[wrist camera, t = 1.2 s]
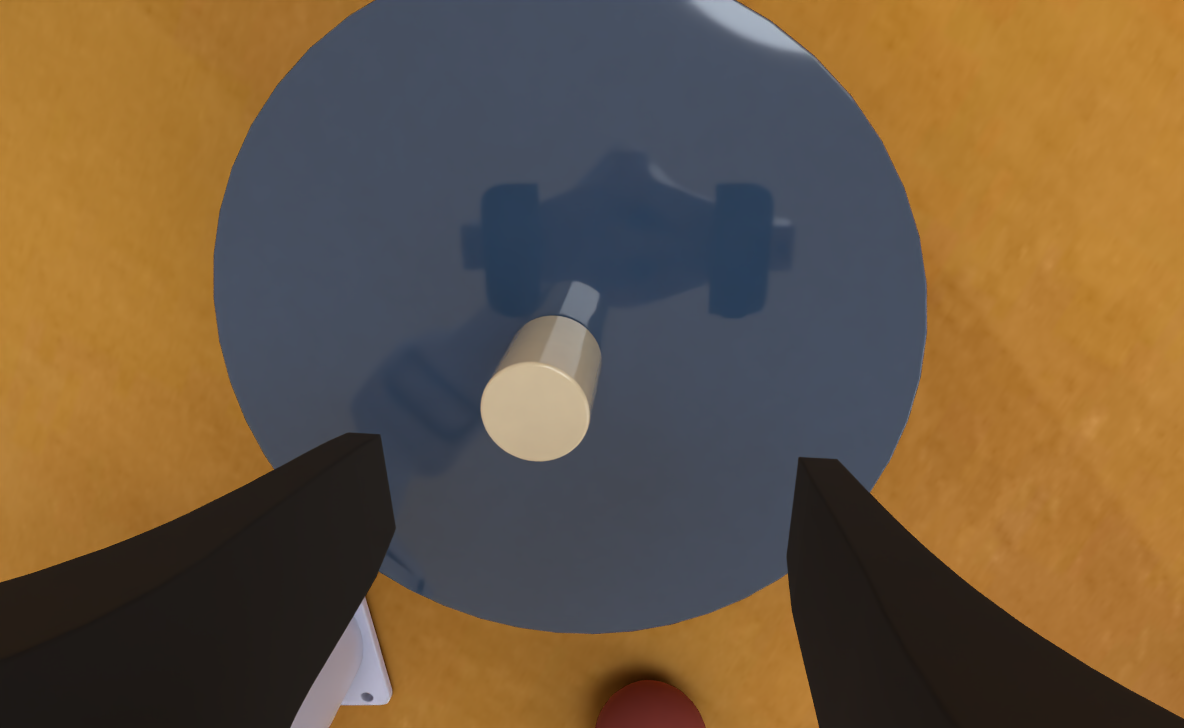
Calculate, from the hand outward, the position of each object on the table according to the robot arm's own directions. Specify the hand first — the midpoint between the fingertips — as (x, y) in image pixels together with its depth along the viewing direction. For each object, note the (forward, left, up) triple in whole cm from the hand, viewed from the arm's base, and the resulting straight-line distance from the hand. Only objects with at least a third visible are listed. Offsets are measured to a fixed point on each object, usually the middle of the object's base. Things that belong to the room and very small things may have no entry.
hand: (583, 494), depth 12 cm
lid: (-1, 0, -7) cm, 7 cm away
